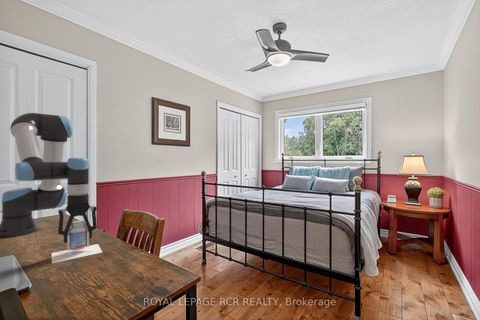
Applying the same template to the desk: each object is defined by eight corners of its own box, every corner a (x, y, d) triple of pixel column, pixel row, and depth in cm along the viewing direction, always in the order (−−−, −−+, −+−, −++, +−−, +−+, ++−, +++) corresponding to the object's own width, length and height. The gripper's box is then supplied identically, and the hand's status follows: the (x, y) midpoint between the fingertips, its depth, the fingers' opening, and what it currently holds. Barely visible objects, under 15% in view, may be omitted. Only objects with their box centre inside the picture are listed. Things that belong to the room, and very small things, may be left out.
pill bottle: (77, 251, 98) (77, 224, 97) (65, 250, 99) (65, 223, 99) (90, 246, 103) (90, 220, 103) (78, 244, 105) (78, 219, 105)
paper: (51, 253, 100) (51, 252, 100) (97, 244, 111) (97, 243, 111) (52, 263, 90) (52, 263, 90) (102, 252, 101) (102, 252, 101)
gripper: (49, 197, 92) (49, 256, 92) (105, 193, 104) (105, 245, 104) (49, 194, 98) (49, 250, 98) (102, 191, 110) (102, 240, 110)
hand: (78, 247), depth 101 cm, fingers closed on pill bottle, 6 cm apart
